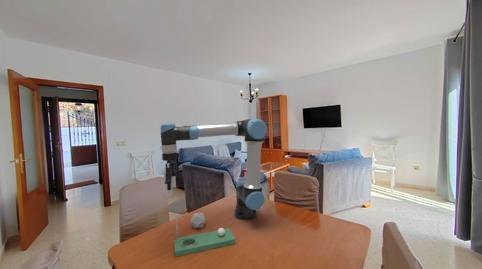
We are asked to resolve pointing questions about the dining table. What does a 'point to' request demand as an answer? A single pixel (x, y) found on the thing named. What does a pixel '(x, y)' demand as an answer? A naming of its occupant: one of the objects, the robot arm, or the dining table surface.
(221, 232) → the ball
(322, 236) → the dining table surface
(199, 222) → the die
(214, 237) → the mini golf green
